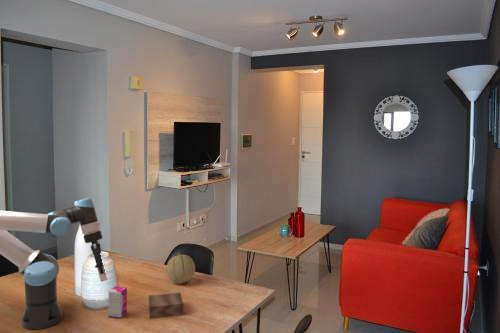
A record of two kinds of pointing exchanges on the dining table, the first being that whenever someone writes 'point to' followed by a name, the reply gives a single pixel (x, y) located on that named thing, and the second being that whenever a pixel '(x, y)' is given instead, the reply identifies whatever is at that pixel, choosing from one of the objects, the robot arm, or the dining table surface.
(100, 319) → the dining table surface
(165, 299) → the walnut block
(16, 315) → the dining table surface
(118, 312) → the supplement box
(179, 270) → the cantaloupe
